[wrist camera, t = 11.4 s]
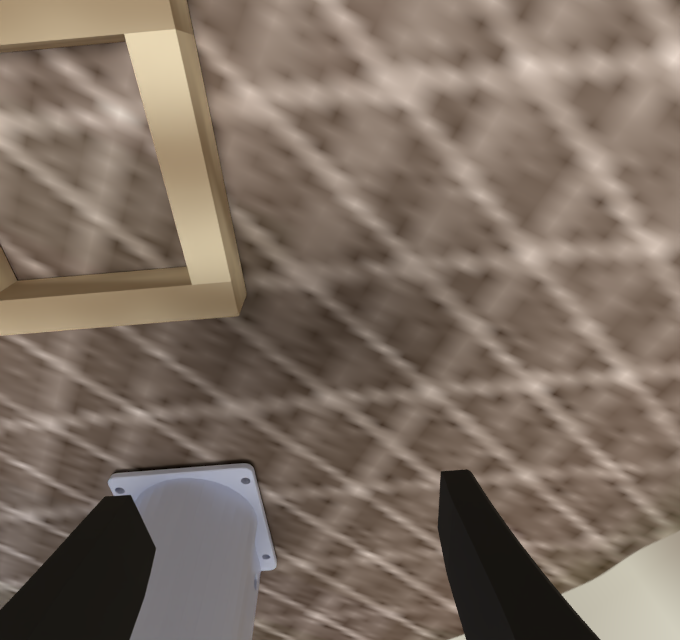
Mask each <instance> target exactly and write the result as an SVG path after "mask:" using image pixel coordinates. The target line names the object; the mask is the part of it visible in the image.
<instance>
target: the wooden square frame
mask: <svg viewBox="0 0 680 640" xmlns="http://www.w3.org/2000/svg"><path fill="white" fill-rule="evenodd" d="M125 41H126V43H127V47H128V50H129V54H130V58H131V61H132V65H133V69H134V72H135V76H136V80H137V84H138V87H139V91H140V95H141V98H142V102H143V106H144V109H145V113H146V117H147V120H148V124H149V128H150V132H151V135H152V139H153V143H154V146H155V150H156V154H157V157H158V161H159V165H160V169H161V172H162V176H163V180H164V183H165V187H166V191H167V194H168V198H169V202H170V205H171V209H172V213H173V217H174V220H175V224H176V228H177V231H178V235H179V239H180V242H181V246H182V250H183V254H184V257H185V261H186V265H187V267H176V268H164V269H152V270H140V271H128V272H116V273H104V274H92V275H80V276H68V277H56V278H44V279H32V280H20V281H17V279H16V277H15V275H14V273H13V271H12V269H11V267H10V265H9V263H8V261H7V258H6V256H5V254H4V252H3V250H2V248H1V246H0V336H2V335H15V334H27V333H39V332H51V331H63V330H75V329H88V328H100V327H112V326H124V325H136V324H148V323H160V322H173V321H185V320H197V319H209V318H221V317H233V316H239V314H240V311H241V309H242V306H243V303H244V300H245V298H246V295H247V293H246V288H245V283H244V278H243V273H242V268H241V263H240V258H239V254H238V249H237V244H236V239H235V234H234V229H233V224H232V219H231V214H230V209H229V205H228V200H227V195H226V190H225V185H224V180H223V175H222V170H221V165H220V160H219V156H218V151H217V146H216V141H215V136H214V131H213V126H212V121H211V116H210V112H209V107H208V102H207V97H206V92H205V87H204V82H203V77H202V72H201V67H200V63H199V58H198V53H197V48H196V43H195V38H194V33H193V28H192V23H191V18H190V14H189V9H188V4H187V0H0V53H4V52H15V51H26V50H37V49H48V48H59V47H70V46H81V45H92V44H103V43H114V42H125Z"/></svg>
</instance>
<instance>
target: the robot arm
mask: <svg viewBox="0 0 680 640" xmlns="http://www.w3.org/2000/svg"><path fill="white" fill-rule="evenodd" d="M108 485H109V487H110V489H111V491H112V493H113V495H114V496H107V497H104V498H103V499H102V500H101V501H100V502H99V504H98V505H97V506H96V507H95V508H94V509H93V510H92V511H91V512H90V513H89V514H88V516H87V517H86V518H85V519H84V520H83V521H82V522H81V523H80V524H79V525H78V527H77V528H76V529H75V530H74V531H73V532H72V533H71V534H70V535H69V537H68V538H67V539H66V540H65V541H64V542H63V543H62V544H61V545H60V546H59V548H58V549H57V550H56V551H55V552H54V553H53V554H52V555H51V556H50V557H49V559H48V560H47V561H46V562H45V563H44V564H43V565H42V566H41V567H40V568H39V569H38V570H37V572H36V573H35V574H34V575H33V576H32V577H31V578H30V579H29V580H28V581H27V582H26V583H25V584H24V586H23V587H22V588H21V589H20V590H19V591H18V592H17V593H16V594H15V595H14V596H13V597H12V598H11V599H10V601H9V602H8V603H7V604H6V605H5V606H4V607H3V608H2V609H1V610H0V640H252V634H253V627H254V619H255V612H256V604H257V596H258V589H259V581H260V574H261V571H268V570H273V569H275V568H276V565H277V559H276V555H275V551H274V547H273V543H272V539H271V535H270V531H269V527H268V523H267V519H266V515H265V511H264V507H263V503H262V499H261V495H260V491H259V487H258V483H257V479H256V475H255V471H254V468H253V466H251V465H250V464H247V463H239V464H227V465H214V466H201V467H188V468H175V469H162V470H149V471H137V472H124V473H115V474H112V475H111V477H110V478H109V480H108ZM438 531H439V537H440V542H441V547H442V552H443V557H444V562H445V567H446V572H447V576H448V580H449V583H450V586H451V590H452V593H453V597H454V600H455V603H456V607H457V610H458V614H459V617H460V620H461V624H462V627H463V630H464V634H465V637H466V640H600V639H599V638H598V637H597V635H596V634H595V633H594V632H593V631H592V630H591V629H590V628H589V627H588V626H587V624H586V623H585V622H584V621H583V620H582V619H581V618H580V616H579V615H578V614H577V613H576V612H575V611H574V610H573V608H572V607H571V606H570V605H569V603H568V602H567V601H566V600H565V599H564V598H563V596H562V595H561V594H560V593H559V592H558V590H557V589H556V588H555V587H554V586H553V584H552V583H551V582H550V581H549V579H548V578H547V577H546V576H545V574H544V573H543V572H542V571H541V569H540V568H539V567H538V566H537V564H536V563H535V562H534V560H533V559H532V558H531V557H530V555H529V554H528V553H527V551H526V550H525V549H524V547H523V546H522V545H521V544H520V542H519V541H518V540H517V538H516V537H515V536H514V534H513V533H512V532H511V530H510V529H509V527H508V526H507V525H506V523H505V522H504V520H503V519H502V518H501V516H500V515H499V513H498V512H497V511H496V509H495V508H494V506H493V505H492V503H491V502H490V500H489V499H488V497H487V496H486V494H485V493H484V491H483V490H482V488H481V487H480V485H479V483H478V482H477V480H476V479H475V477H474V475H473V474H472V473H471V472H470V471H469V470H454V471H441V480H440V497H439V515H438Z"/></svg>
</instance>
